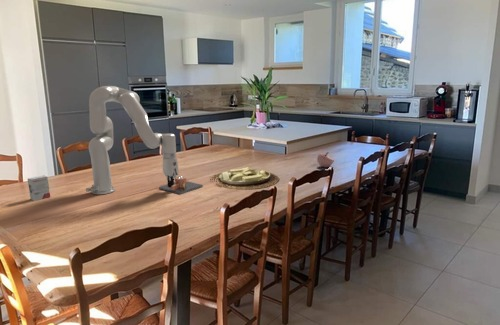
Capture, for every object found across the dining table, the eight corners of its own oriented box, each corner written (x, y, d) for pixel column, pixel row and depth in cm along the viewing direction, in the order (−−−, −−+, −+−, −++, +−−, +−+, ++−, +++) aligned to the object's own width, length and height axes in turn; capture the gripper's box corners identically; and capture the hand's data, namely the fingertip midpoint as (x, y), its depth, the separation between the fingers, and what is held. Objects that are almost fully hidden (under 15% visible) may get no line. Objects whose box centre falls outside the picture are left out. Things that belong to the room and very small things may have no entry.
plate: (291, 176, 244) (291, 166, 243) (257, 197, 207) (257, 185, 205) (233, 168, 266) (233, 159, 265) (194, 185, 229) (194, 175, 227)
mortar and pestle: (335, 169, 261) (335, 153, 259) (318, 169, 262) (318, 153, 259) (331, 165, 273) (332, 150, 270) (315, 165, 273) (316, 150, 271)
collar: (177, 190, 208) (176, 182, 207) (167, 189, 210) (167, 181, 209) (187, 185, 219) (187, 177, 218) (179, 184, 221) (178, 176, 220)
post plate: (180, 194, 206) (179, 182, 204) (159, 188, 216) (158, 177, 215) (202, 186, 220) (202, 175, 219) (181, 181, 230) (181, 171, 229)
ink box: (46, 195, 205) (44, 174, 202) (50, 197, 202) (48, 176, 199) (30, 199, 199) (27, 178, 196) (33, 201, 196) (30, 179, 193)
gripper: (182, 156, 205) (183, 188, 209) (168, 152, 216) (169, 183, 220) (170, 158, 200) (172, 191, 204) (156, 154, 211) (158, 185, 215)
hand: (170, 186), depth 212 cm, fingers closed
